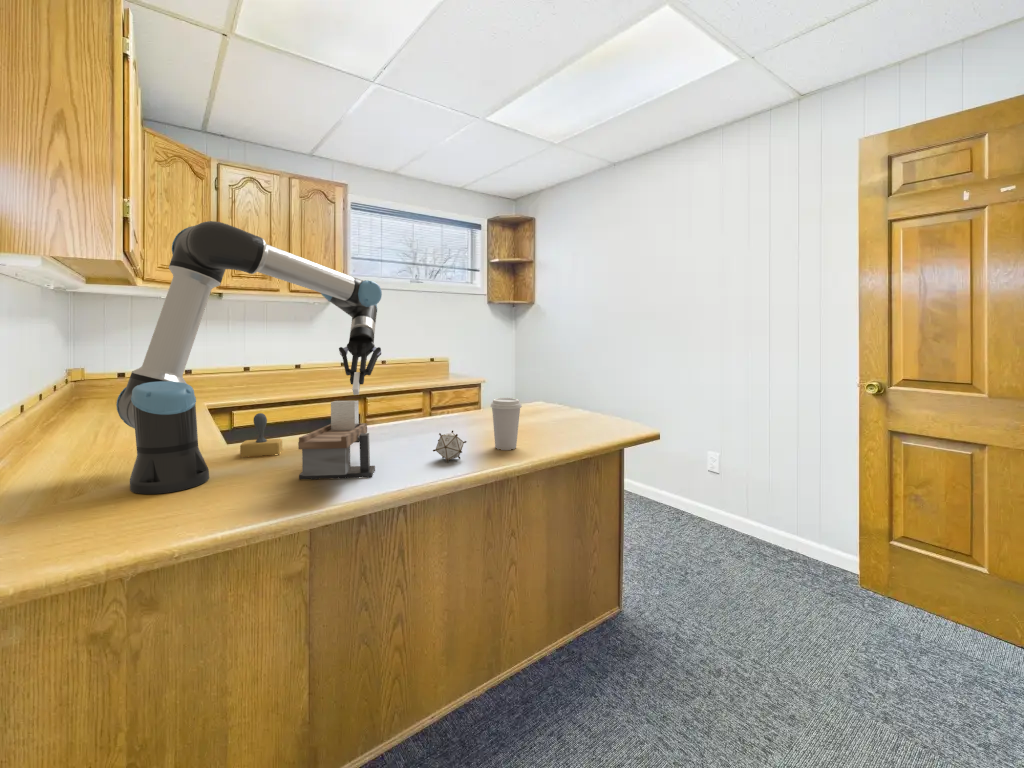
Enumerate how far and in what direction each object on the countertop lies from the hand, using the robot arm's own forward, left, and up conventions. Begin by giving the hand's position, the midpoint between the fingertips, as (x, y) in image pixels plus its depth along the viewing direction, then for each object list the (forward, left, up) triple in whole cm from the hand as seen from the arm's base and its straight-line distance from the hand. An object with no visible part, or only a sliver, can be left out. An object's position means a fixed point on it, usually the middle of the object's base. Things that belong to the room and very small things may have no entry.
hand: (355, 392), depth 142 cm
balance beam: (+18, -16, -15) cm, 28 cm away
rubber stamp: (-16, -21, -18) cm, 32 cm away
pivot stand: (+18, -16, -18) cm, 29 cm away
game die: (+28, +12, -18) cm, 35 cm away
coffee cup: (+30, +33, -18) cm, 48 cm away
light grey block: (+10, -9, -8) cm, 16 cm away
